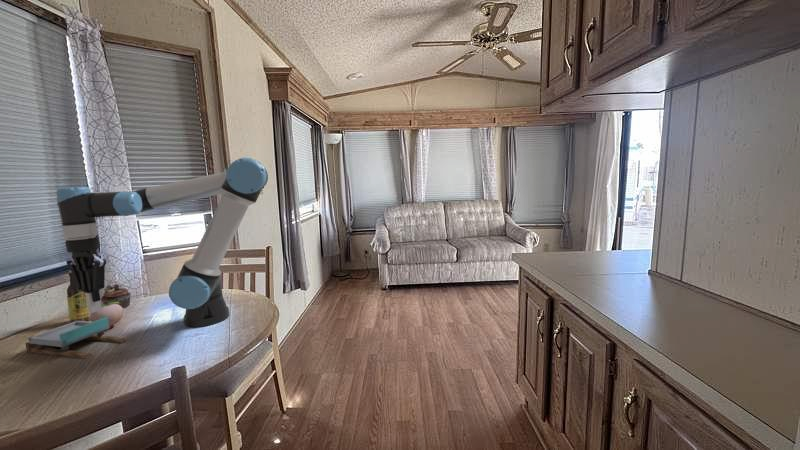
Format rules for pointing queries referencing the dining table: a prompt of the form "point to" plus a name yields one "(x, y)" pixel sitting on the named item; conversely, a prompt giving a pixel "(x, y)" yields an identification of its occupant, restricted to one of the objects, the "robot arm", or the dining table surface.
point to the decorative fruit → (109, 313)
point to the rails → (86, 355)
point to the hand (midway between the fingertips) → (95, 311)
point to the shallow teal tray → (70, 333)
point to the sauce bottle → (76, 302)
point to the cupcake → (116, 295)
